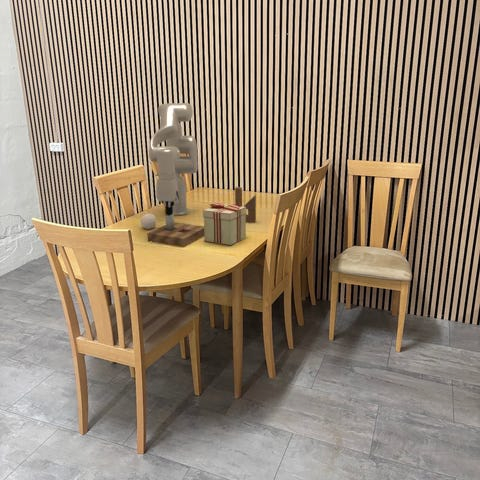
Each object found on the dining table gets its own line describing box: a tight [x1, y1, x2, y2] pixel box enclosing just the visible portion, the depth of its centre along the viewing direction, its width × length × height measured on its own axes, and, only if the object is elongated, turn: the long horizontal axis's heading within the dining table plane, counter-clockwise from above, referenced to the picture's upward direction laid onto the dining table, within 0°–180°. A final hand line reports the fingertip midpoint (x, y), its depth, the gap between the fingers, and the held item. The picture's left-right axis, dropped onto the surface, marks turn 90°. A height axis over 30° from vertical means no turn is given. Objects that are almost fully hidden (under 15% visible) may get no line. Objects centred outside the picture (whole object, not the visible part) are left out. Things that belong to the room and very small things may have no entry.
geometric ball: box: [140, 212, 157, 230], centre depth 244 cm, size 8×8×8 cm
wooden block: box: [234, 186, 257, 224], centre depth 252 cm, size 4×11×18 cm, turn 77°
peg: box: [164, 213, 175, 231], centre depth 230 cm, size 4×4×11 cm
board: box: [146, 221, 205, 248], centre depth 229 cm, size 20×20×4 cm
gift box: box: [202, 201, 247, 246], centre depth 226 cm, size 17×18×17 cm
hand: (169, 214), depth 228 cm, fingers closed
